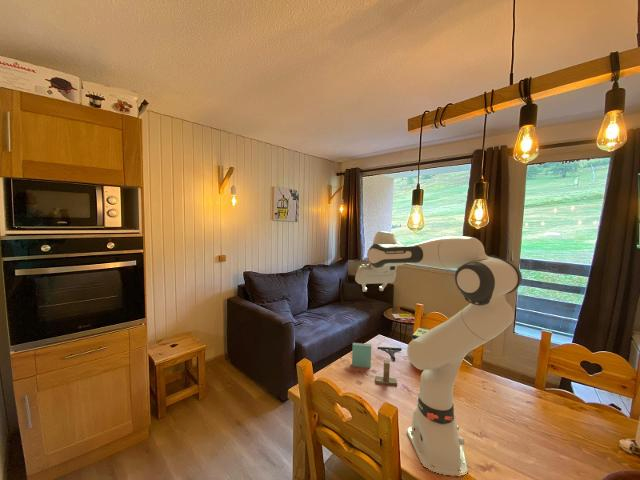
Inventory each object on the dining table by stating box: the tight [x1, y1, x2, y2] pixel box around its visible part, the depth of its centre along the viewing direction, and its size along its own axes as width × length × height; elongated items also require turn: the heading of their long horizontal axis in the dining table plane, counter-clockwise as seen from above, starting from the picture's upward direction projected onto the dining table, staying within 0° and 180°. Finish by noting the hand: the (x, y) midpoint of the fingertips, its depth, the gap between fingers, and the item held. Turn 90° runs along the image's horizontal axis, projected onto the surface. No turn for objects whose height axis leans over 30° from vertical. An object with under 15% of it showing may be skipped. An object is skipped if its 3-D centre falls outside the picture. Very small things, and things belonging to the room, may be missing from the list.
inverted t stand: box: [374, 360, 398, 387], centre depth 129 cm, size 4×10×10 cm, turn 82°
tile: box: [351, 342, 372, 369], centre depth 144 cm, size 2×10×12 cm, turn 82°
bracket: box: [377, 346, 403, 362], centre depth 157 cm, size 14×15×3 cm
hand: (372, 290), depth 127 cm, fingers open, 8 cm apart
